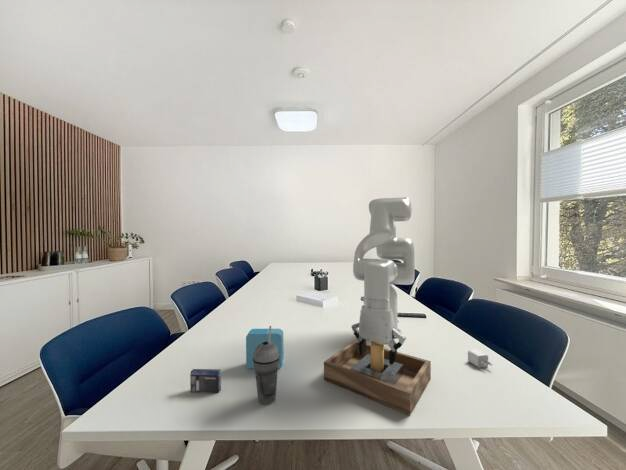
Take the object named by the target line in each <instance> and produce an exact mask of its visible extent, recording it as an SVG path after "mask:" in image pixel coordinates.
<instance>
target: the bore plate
mask: <svg viewBox="0 0 626 470" xmlns="http://www.w3.org/2000/svg"><path fill="white" fill-rule="evenodd" d="M350 369H351V370H354V371H357V372H360V373H362V374H365V375H368V376H371V377H373V378H376V379H379V380H382V381H385V382H387V383H390V384H393V385H395V384H396V383H397V382H398V380H399V379H400V378H401V377H402V375H403V364H400V363H397V362H394V363H393V364H392V365H391V364H390V363H389V360H387V359H384V372H383V373H380V372H377V371H374V370H371V369H370V354H367V355H366V356H365V357H363V358H362V359H361V360H360V361H359V362H358V363H356V364H355V365H354V366H353V367H352V368H350Z"/></svg>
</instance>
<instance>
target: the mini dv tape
mask: <svg viewBox="0 0 626 470" xmlns="http://www.w3.org/2000/svg"><path fill="white" fill-rule="evenodd" d="M221 371H222V370H221V368H220V369H217V368H216V369H215V368H212V369H211V368H208V369H207V368H192V369H191V370H190V373H189V374H190V375H189V376H190V380H189V381H190V384H189V385H190V393H198V394H201V393H202V394H204V393H205V394H219V393H220V392H221V390H222V384H221V383H222V379H221V378H222V375H221V374H222V373H221Z"/></svg>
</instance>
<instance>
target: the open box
mask: <svg viewBox="0 0 626 470" xmlns="http://www.w3.org/2000/svg"><path fill="white" fill-rule="evenodd" d="M390 350H391V349H388V348H385V347H384V359H387V360H389V351H390ZM367 354H371V343H367V342H366V352H365V353H364V354H363V355H360V350H359V342H358V341H357V340H356V339H355V340H353V341H352V342H350V343H349V344H348V345H346V346H345V347H343V348H342V349H340V350H338V351H337V352H336V353H335V354H333V355H332V356H330V357H329V358H327V359H326V360H325V361H323V380H324V381H326V382H329V383H331V384H334V385H335V386H338V387H339V388H343V389H345V390H347V391H350V392H352V393H355V394H357V395H360V396H362V397H363V398H366V399H369V400H372V401H375V402H376V403H379V404H382V405H383V406H387V407H389V408H391V409H393V410H396V411H398V412H401V413H403V414H406V415H407V414H409V415H408V416H411V415H412V413H413V411H414V410H415V408H416V406H417V404H418V402H419V401H420V399H421V397H422V395H423V393H424V392H425V390H426V388H427V386H428V385H429V383H430V381H431V378H432V377H431V371H432V364H431V361H430V360H428V359H424V358H421V357H416V356H415V355H409V354H405V353H402V352H398V351H397V360H396V361H395V362H397V363H400V364H403V375H402V377H401V378H400V379H399V380H398V382H397V383H396V384H395V385H393V384H390V383H387V382H385V381H382V380H379V379H376V378H373V377H371V376H368V375H365V374H362V373H360V372H357V371H354V370H351V369H350V368H352V367H353V366H354V365H355V364H356V363H358V362H359V361H360V360H361V359H362V358H363V357H365V356H366V355H367ZM410 414H411V415H410Z"/></svg>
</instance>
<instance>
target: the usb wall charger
mask: <svg viewBox="0 0 626 470" xmlns="http://www.w3.org/2000/svg"><path fill="white" fill-rule="evenodd" d="M467 361H468V362H470V364H472V365H474V366H475V367H477V368H479V369H480V368H488V367H489V366H491V367H492V366H493V363H492V362H489V355H488V354H485V353H484V352H482V351H480V350H478V349H476V348H475V349H469V350H468V351H467Z"/></svg>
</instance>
